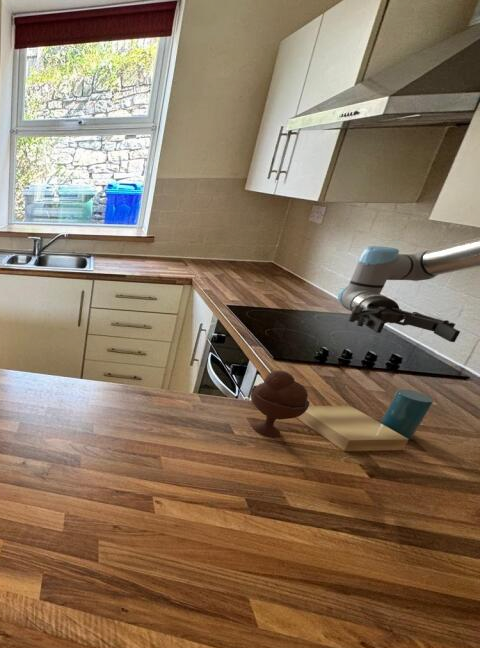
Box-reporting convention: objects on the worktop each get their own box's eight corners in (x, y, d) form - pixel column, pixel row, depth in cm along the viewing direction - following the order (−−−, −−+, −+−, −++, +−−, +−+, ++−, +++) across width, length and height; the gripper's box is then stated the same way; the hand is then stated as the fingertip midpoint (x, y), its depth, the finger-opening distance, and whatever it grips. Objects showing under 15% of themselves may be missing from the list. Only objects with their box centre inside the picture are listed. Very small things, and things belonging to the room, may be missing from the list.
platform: (402, 450, 90) (409, 439, 88) (344, 451, 89) (349, 440, 87) (345, 415, 102) (350, 405, 101) (293, 416, 101) (297, 406, 100)
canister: (420, 438, 94) (441, 402, 90) (396, 439, 93) (417, 402, 89) (393, 424, 99) (413, 388, 95) (371, 424, 99) (389, 389, 95)
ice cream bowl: (235, 431, 95) (255, 374, 89) (245, 412, 102) (264, 359, 96) (290, 451, 88) (316, 391, 82) (296, 430, 96) (320, 374, 90)
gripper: (426, 327, 111) (479, 355, 93) (316, 314, 120) (345, 338, 102) (439, 301, 108) (497, 325, 90) (325, 290, 117) (358, 309, 98)
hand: (417, 332), depth 96 cm, fingers open, 13 cm apart
